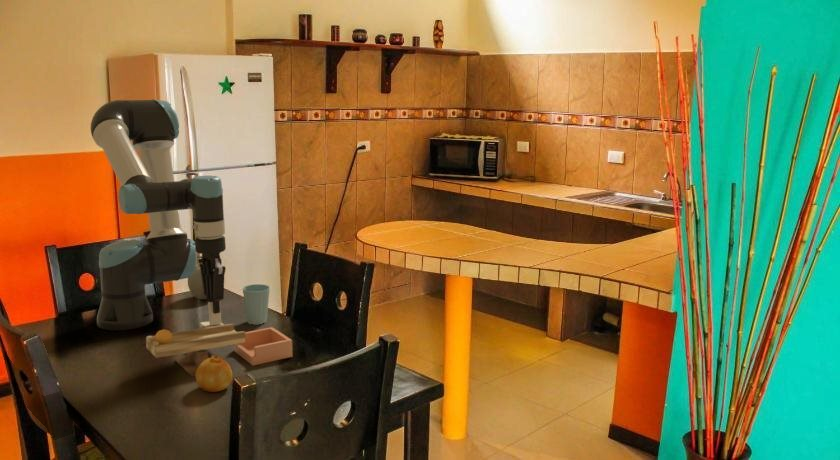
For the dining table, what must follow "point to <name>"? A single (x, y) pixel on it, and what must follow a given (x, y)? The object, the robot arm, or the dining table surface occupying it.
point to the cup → (256, 303)
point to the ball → (163, 337)
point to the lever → (196, 339)
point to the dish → (264, 346)
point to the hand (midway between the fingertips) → (215, 323)
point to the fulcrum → (192, 361)
